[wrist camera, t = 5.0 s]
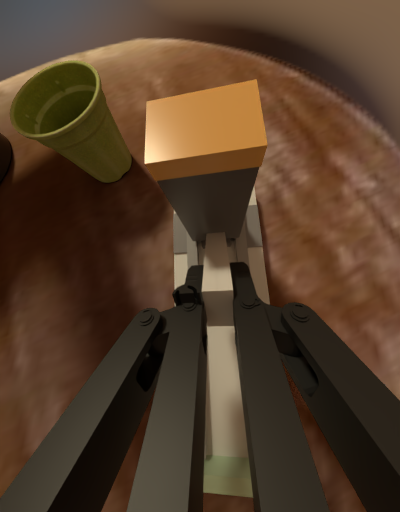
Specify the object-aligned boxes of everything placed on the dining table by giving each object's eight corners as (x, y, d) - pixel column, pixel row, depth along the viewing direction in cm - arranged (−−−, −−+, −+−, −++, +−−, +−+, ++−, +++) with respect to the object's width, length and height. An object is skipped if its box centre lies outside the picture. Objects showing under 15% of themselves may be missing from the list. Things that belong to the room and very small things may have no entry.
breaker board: (284, 460, 14) (304, 513, 11) (182, 452, 15) (170, 497, 12) (250, 191, 20) (256, 170, 17) (178, 200, 21) (169, 182, 18)
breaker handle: (239, 246, 16) (269, 155, 6) (194, 249, 17) (144, 173, 6) (235, 209, 17) (255, 70, 6) (193, 214, 18) (147, 93, 7)
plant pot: (86, 144, 25) (18, 72, 17) (143, 132, 24) (101, 48, 16) (80, 198, 23) (0, 145, 15) (143, 188, 22) (95, 124, 14)
